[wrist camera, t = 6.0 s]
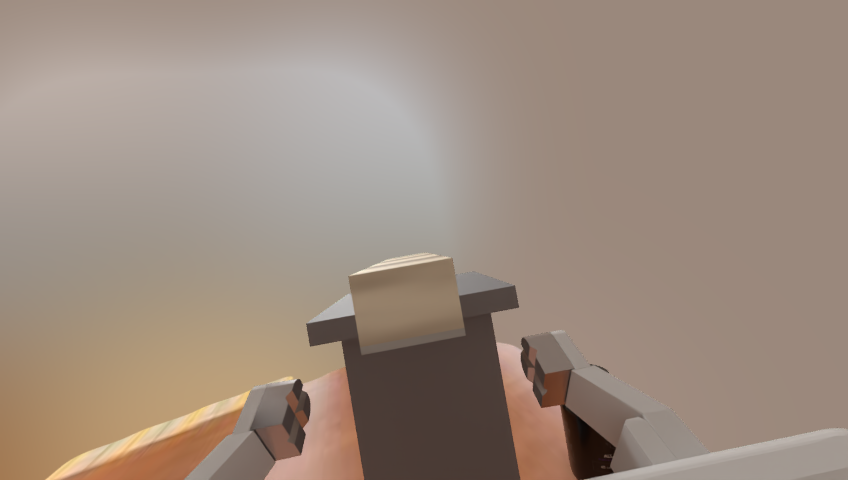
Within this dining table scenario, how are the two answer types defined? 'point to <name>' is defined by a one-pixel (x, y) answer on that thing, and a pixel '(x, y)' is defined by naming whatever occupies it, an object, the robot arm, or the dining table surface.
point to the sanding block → (406, 302)
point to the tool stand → (430, 394)
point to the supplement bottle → (586, 446)
